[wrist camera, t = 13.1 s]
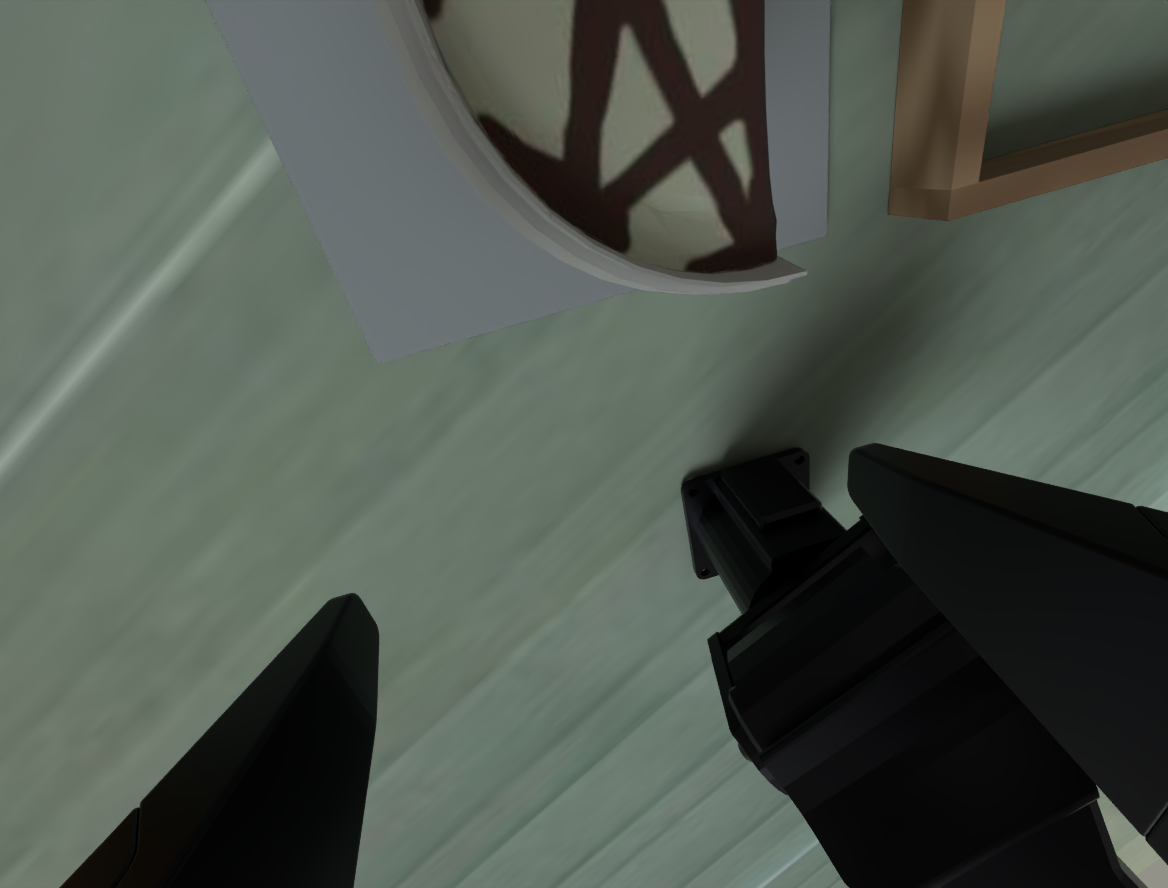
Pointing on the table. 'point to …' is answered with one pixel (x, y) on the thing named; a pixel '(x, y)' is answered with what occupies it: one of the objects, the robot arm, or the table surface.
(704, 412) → the table surface
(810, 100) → the slate mat
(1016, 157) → the walnut frame
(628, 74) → the food container
